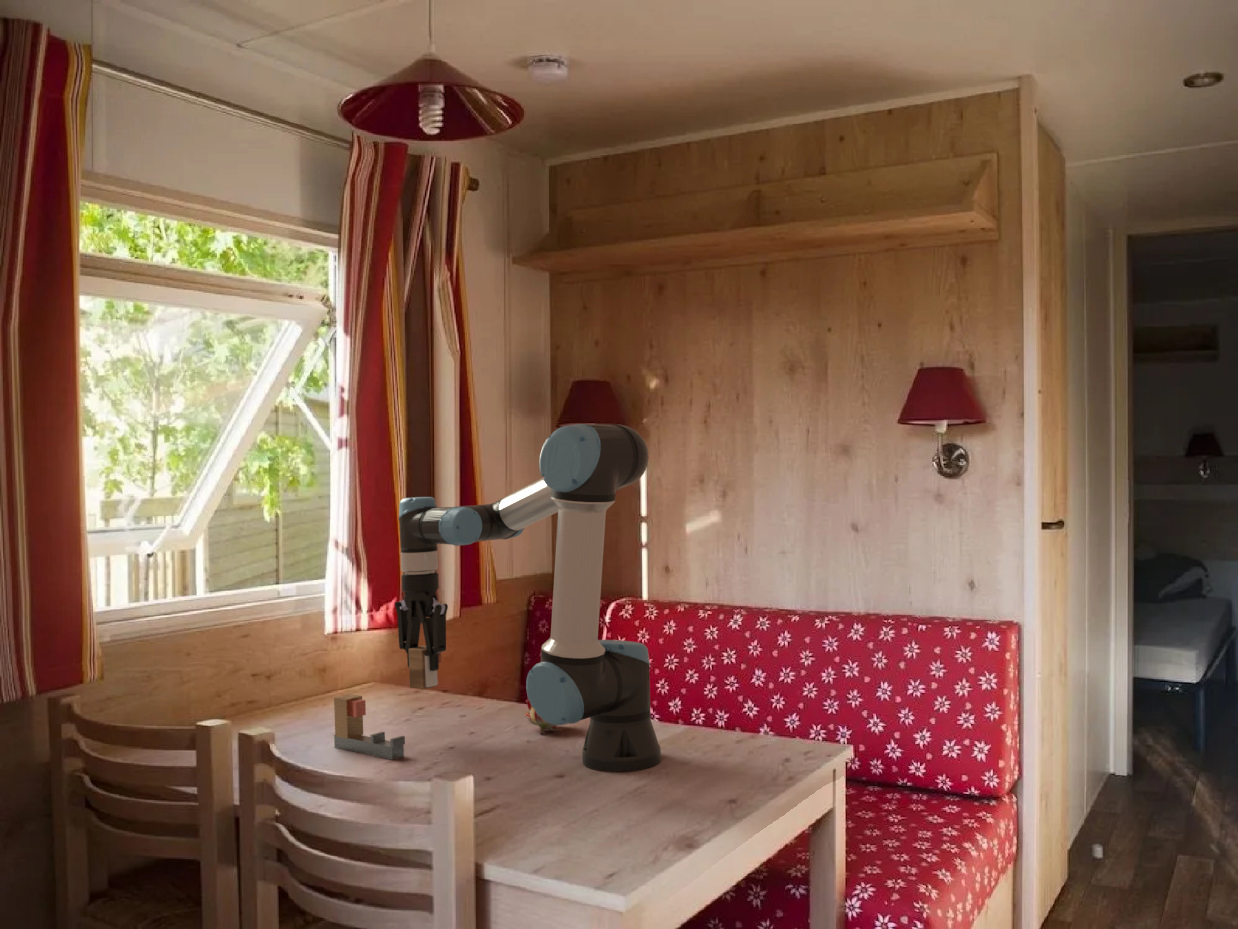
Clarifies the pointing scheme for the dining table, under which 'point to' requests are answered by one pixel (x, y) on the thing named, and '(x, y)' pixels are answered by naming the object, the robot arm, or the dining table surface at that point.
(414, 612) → the robot arm
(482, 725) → the dining table surface
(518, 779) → the dining table surface
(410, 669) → the walnut finger
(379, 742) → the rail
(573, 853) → the dining table surface
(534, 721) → the flower
